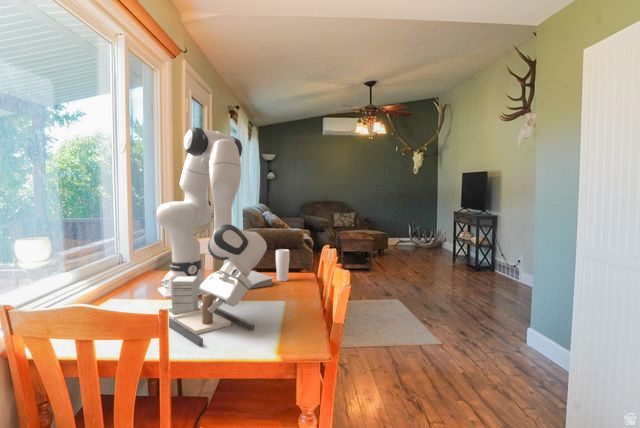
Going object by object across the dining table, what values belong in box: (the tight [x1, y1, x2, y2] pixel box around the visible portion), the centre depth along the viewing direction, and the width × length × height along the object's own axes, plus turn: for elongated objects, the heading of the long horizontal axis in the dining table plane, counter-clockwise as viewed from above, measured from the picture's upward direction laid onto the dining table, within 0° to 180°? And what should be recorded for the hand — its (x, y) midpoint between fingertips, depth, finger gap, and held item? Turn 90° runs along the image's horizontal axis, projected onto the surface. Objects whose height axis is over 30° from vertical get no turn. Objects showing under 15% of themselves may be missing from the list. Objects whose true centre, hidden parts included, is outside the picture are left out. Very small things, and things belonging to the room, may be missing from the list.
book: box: [247, 270, 276, 290], centre depth 177 cm, size 15×23×4 cm, turn 40°
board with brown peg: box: [160, 293, 232, 335], centre depth 124 cm, size 26×12×10 cm, turn 44°
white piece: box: [275, 248, 290, 282], centre depth 182 cm, size 7×7×15 cm
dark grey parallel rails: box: [168, 307, 255, 347], centre depth 119 cm, size 26×18×2 cm
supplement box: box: [171, 276, 199, 315], centre depth 129 cm, size 7×7×13 cm
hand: (205, 309), depth 118 cm, fingers closed on board with brown peg, 3 cm apart
